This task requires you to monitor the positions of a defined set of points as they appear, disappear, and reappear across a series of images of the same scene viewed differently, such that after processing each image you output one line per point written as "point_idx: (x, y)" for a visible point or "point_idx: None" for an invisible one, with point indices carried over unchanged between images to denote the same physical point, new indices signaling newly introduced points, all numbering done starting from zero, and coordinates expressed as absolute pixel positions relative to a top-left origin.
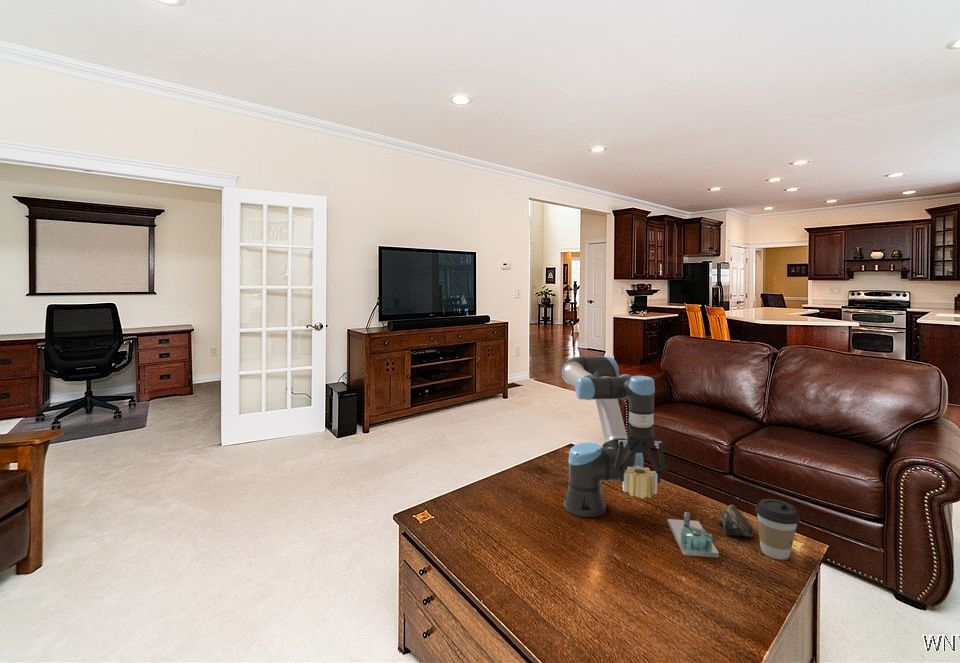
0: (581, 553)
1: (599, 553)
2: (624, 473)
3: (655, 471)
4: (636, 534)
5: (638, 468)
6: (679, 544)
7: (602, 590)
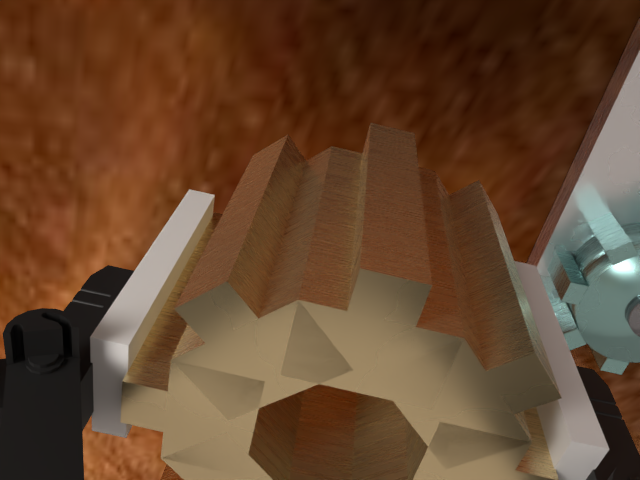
0: (19, 237)
1: (104, 246)
2: (97, 425)
3: (602, 457)
4: (352, 112)
5: (359, 374)
6: (536, 253)
7: (90, 420)
